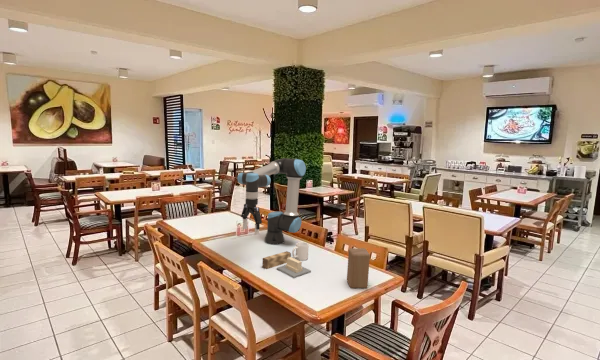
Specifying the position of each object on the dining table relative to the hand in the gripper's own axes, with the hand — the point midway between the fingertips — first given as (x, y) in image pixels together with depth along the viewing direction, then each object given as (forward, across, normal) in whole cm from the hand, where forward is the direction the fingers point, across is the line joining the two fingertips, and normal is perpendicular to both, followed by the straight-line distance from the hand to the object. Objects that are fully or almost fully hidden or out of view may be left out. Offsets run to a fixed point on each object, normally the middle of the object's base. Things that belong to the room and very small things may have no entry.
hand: (250, 231), depth 210 cm
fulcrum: (+22, +24, +16) cm, 36 cm away
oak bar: (+22, +10, +14) cm, 27 cm away
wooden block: (+22, +59, +34) cm, 72 cm away
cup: (+22, +11, +32) cm, 40 cm away
